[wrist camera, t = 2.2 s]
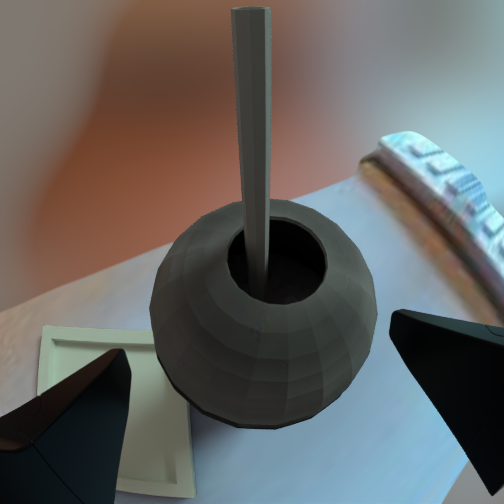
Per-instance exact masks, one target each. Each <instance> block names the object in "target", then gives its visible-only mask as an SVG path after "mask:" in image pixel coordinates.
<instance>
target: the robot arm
mask: <svg viewBox="0 0 504 504" xmlns="http://www.w3.org/2000/svg"><path fill="white" fill-rule="evenodd" d="M389 336H390V339H391V340H392V342H393V344H394V346H395V347H396V349H397V351H398V352H399V354H400V356H401V358H402V359H403V361H404V363H405V365H406V366H407V368H408V369H409V371H410V372H411V374H412V375H413V376H414V378H415V379H416V381H417V382H418V383H419V385H420V386H421V388H422V389H423V391H424V392H425V393H426V395H427V396H428V398H429V399H430V401H431V402H432V403H433V405H434V406H435V408H436V409H437V411H438V412H439V414H440V415H441V417H442V418H443V420H444V421H445V423H446V424H447V426H448V427H449V429H450V430H451V432H452V433H453V435H454V436H455V438H456V439H457V441H458V442H459V444H460V445H461V447H462V449H463V450H464V452H466V455H467V457H468V458H469V460H470V462H471V463H472V465H473V466H474V468H475V470H476V471H477V473H478V474H479V476H480V478H481V480H482V481H483V483H484V485H485V486H486V488H487V490H488V492H489V493H490V494H491V496H494V495H495V494H496V493H497V492H498V491H499V490H500V489H502V488H503V487H504V328H502V327H496V326H490V325H484V324H479V323H473V322H468V321H463V320H457V319H452V318H447V317H441V316H436V315H431V314H426V313H421V312H416V311H411V310H406V309H400V310H396V311H394V312H393V313H392V315H391V322H390V329H389ZM131 380H132V372H131V368H130V365H129V362H128V358H127V355H126V352H125V350H124V349H122V348H113V349H110V350H109V351H107V352H106V353H104V354H102V355H101V356H99V357H98V358H96V359H95V360H93V361H91V362H90V363H88V364H87V365H85V366H84V367H82V368H81V369H79V370H77V371H76V372H74V373H73V374H71V375H70V376H68V377H66V378H65V379H63V380H62V381H60V382H59V383H57V384H56V385H54V386H52V387H51V388H49V389H48V390H46V391H45V392H43V393H41V394H40V395H38V396H37V397H35V398H33V399H32V400H30V401H29V402H27V403H25V404H24V405H22V406H20V407H19V408H17V409H15V410H13V411H11V412H9V413H8V414H6V415H4V416H2V417H0V504H114V500H115V492H116V485H117V478H118V471H119V464H120V458H121V452H122V446H123V441H124V435H125V430H126V425H127V420H128V414H129V402H130V390H131Z"/></svg>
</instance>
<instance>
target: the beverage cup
mask: <svg viewBox="0 0 504 504" xmlns="http://www.w3.org/2000/svg"><path fill="white" fill-rule="evenodd" d="M231 24H232V42H233V60H234V77H235V93H236V111H237V126H238V142H239V159H240V175H241V191H242V201H239V202H233V203H230V204H228V205H226V206H224V207H221V208H219V209H217V210H215V211H213V212H210V213H208V214H206V215H204V216H202V217H201V218H200V219H198V220H197V221H196V222H195V223H194V224H193V225H191V226H190V227H189V228H188V229H187V230H186V231H185V232H183V233H182V234H181V235H180V236H179V237H178V238H177V239H176V240H175V242H174V243H173V245H172V247H171V248H170V250H169V252H168V253H167V255H166V256H165V258H164V260H163V261H162V263H161V265H160V266H159V268H158V271H157V274H156V278H155V283H154V288H153V292H152V297H151V302H150V307H149V310H150V318H151V325H152V332H153V339H154V345H155V350H156V355H157V359H158V361H159V363H160V365H161V367H162V369H163V370H164V372H165V374H166V376H167V378H168V380H169V381H170V383H171V385H172V387H173V388H174V390H175V391H176V392H177V393H179V394H180V395H181V396H182V397H183V398H184V399H185V400H186V401H188V402H189V403H190V404H191V405H192V406H193V407H194V408H196V409H197V410H198V411H199V412H200V413H201V414H203V415H206V416H208V417H210V418H213V419H215V420H218V421H220V422H223V423H225V424H228V425H231V426H233V427H236V428H245V429H273V430H276V429H279V428H283V427H286V426H289V425H293V424H296V423H299V422H302V421H305V420H308V419H311V418H313V417H314V416H315V415H317V414H318V413H319V412H321V411H322V410H323V409H325V408H326V407H327V406H329V405H330V404H331V403H333V402H334V401H335V400H337V399H338V398H339V397H340V396H341V394H342V393H343V392H344V391H345V390H346V389H347V388H348V387H349V385H350V384H351V383H352V381H353V380H354V378H355V376H356V375H357V373H358V372H359V370H360V369H361V367H362V365H363V364H364V362H365V360H366V359H367V357H368V355H369V353H370V348H371V344H372V339H373V335H374V330H375V325H376V320H377V315H378V314H377V305H376V297H375V290H374V283H373V278H372V275H371V273H370V271H369V269H368V266H367V264H366V262H365V260H364V258H363V256H362V254H361V252H360V250H359V248H358V247H357V246H356V245H355V244H354V243H353V241H352V240H351V239H350V238H349V237H348V236H347V235H346V234H345V232H344V231H343V230H342V229H341V228H340V227H339V226H338V225H337V224H336V223H334V222H333V221H331V220H330V219H328V218H327V217H325V216H324V215H322V214H321V213H319V212H318V211H316V210H314V209H312V208H309V207H306V206H303V205H300V204H297V203H294V202H291V201H288V200H279V199H270V156H271V152H270V151H271V8H269V7H237V8H232V9H231Z"/></svg>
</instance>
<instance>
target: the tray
mask: <svg viewBox="0 0 504 504" xmlns="http://www.w3.org/2000/svg"><path fill="white" fill-rule="evenodd" d="M113 348H122V349H124V350H125V352H126V355H127V358H128V362H129V365H130V368H131V372H132V380H131V390H130V402H129V414H128V420H127V425H126V430H125V435H124V441H123V446H122V452H121V458H120V464H119V471H118V478H117V485H116V490H119V491H125V492H131V493H138V494H146V495H155V496H166V497H181V498H195V496H196V494H197V490H196V480H195V470H194V459H193V447H192V434H191V419H190V403H189V402H188V401H186V400H185V399H184V398H183V397H182V396H181V395H180V394H179V393H177V392H176V391H175V390H174V388H173V387H172V385H171V383H170V381H169V380H168V378H167V376H166V374H165V372H164V370H163V369H162V367H161V365H160V363H159V361H158V359H157V355H156V350H155V345H154V339H153V332H152V330H127V329H94V328H74V327H59V326H45V325H43V332H42V340H41V348H40V358H39V370H38V387H37V396H38V395H40V394H41V393H43V392H45V391H46V390H48V389H49V388H51V387H52V386H54V385H56V384H57V383H59V382H60V381H62V380H63V379H65V378H66V377H68V376H70V375H71V374H73V373H74V372H76V371H77V370H79V369H81V368H82V367H84V366H85V365H87V364H88V363H90V362H91V361H93V360H95V359H96V358H98V357H99V356H101V355H102V354H104V353H106V352H107V351H109V350H110V349H113Z"/></svg>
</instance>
